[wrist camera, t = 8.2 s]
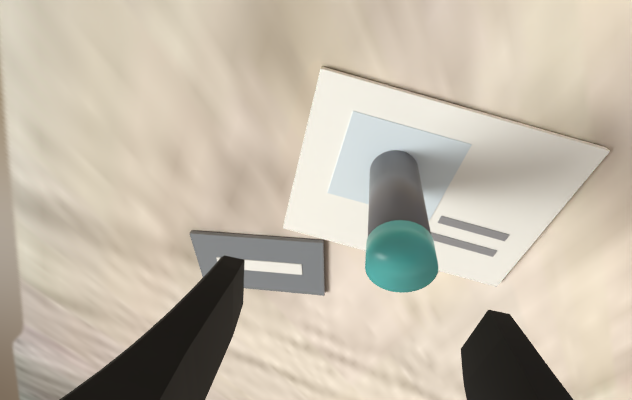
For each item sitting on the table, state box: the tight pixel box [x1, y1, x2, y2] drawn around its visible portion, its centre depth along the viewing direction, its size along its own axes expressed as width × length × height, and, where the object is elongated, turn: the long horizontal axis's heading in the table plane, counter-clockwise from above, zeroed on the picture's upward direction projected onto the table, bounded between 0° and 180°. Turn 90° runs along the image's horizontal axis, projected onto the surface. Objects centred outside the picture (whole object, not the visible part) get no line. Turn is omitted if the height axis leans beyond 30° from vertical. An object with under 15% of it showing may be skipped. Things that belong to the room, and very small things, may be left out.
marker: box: [365, 150, 438, 292], centre depth 16 cm, size 3×3×7 cm
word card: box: [190, 231, 325, 295], centre depth 24 cm, size 9×5×1 cm, turn 92°
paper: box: [283, 66, 610, 287], centre depth 19 cm, size 14×10×1 cm
